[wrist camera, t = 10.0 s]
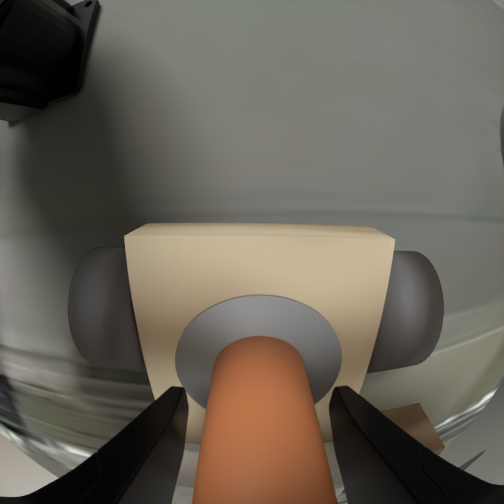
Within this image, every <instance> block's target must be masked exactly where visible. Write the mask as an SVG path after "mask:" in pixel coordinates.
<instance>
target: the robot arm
mask: <svg viewBox="0 0 504 504" xmlns="http://www.w3.org/2000/svg"><path fill="white" fill-rule="evenodd" d="M98 6H99V1H98V0H84V1H82V2H79V3H77V4H75V5H72V6H71V5H70V4H69V3H67V2H66V1H65V0H0V119H1V120H4V121H9V120H11V121H18V120H20V119H22V118H25V117H27V116H30V115H32V114H35V113H38V112H40V111H43V110H44V109H45V108H46V107H47V105H48V104H51V103H54V102H57V101H60V100H63V99H66V98H69V97H73V96H74V95H76V94H77V93H78V92H79V90H80V88H81V84H82V77H83V70H84V64H85V59H86V54H87V49H88V44H89V40H90V35H91V31H92V27H93V23H94V20H95V16H96V12H97V9H98ZM72 84H73V87H72V89H71V90H70V87H71V86H72ZM188 414H189V404H188V399H187V394H186V390H185V388H184V387H178V386H171V387H169V388H168V389H167V390H166V391H165V392H164V393H163V394H162V395H161V396H160V397H158V398H157V399H156V400H155V401H154V402H153V403H152V404H151V405H150V406H149V407H147V408H146V409H145V410H144V411H143V412H142V413H141V414H140V415H138V416H137V417H136V418H135V419H134V420H133V421H132V422H130V423H129V424H128V425H127V426H126V427H125V428H124V429H122V430H121V431H120V432H119V433H118V434H117V435H115V436H114V437H113V438H112V439H111V440H109V441H108V442H107V443H106V444H105V445H104V446H102V447H101V448H100V449H99V450H98V451H97V453H96V452H95V453H94V454H93V455H91V456H90V457H89V458H88V459H86V460H85V461H84V462H82V463H81V464H80V465H78V466H77V467H76V468H74V469H73V470H71V471H70V472H68V473H67V474H65V475H63V476H62V477H60V478H58V479H57V480H55V481H53V482H51V483H50V484H48V485H46V486H44V487H42V488H40V489H39V490H37V491H35V492H33V493H30V494H28V495H25V496H20V497H0V504H171V503H172V499H173V495H174V491H175V487H176V483H177V479H178V475H179V471H180V467H181V463H182V459H183V454H184V448H185V439H186V430H187V422H188ZM329 415H330V422H331V429H332V436H333V444H334V450H335V455H336V459H337V462H338V466H339V470H340V473H341V477H342V481H343V485H344V489H345V492H346V496H347V500H348V504H504V485H496V484H491V483H488V482H486V481H483V480H481V479H479V478H477V477H475V476H473V475H471V474H469V473H467V472H465V471H463V470H462V469H460V468H458V467H456V466H454V465H453V464H451V463H449V462H447V461H446V460H444V459H443V458H441V457H440V456H438V455H437V454H435V453H434V452H433V451H431V450H430V449H429V448H427V447H424V445H423V444H422V443H420V442H419V441H418V440H416V439H415V438H414V437H412V436H411V435H410V434H408V433H407V432H406V431H404V430H403V429H402V428H401V427H399V426H398V425H397V424H395V423H394V422H393V421H392V420H390V419H389V418H388V417H386V416H385V415H384V414H383V413H381V412H380V411H379V410H378V409H376V408H375V407H374V406H373V405H371V404H370V403H369V402H368V401H366V400H365V399H364V398H363V397H361V396H360V395H359V394H358V393H357V392H355V391H354V390H353V389H352V388H350V387H349V386H347V385H344V386H336V387H334V389H333V392H332V395H331V399H330V403H329Z"/></svg>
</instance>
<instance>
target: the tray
mask: <svg viewBox="0 0 504 504" xmlns="http://www.w3.org/2000/svg"><path fill="white" fill-rule="evenodd" d="M324 446H325V450H326V454H327V459H328V463H329V467H330V471H331V476H332V480H333V485H334V489H335V494H336V498H338V497H339V495H340V494H341V492H342V491H343V490H344V485H343V481H342V477H341V473H340V470H339V466H338V462H337V459H336V455H335V450H334V444H333V442H325V443H324ZM199 452H200V444H190V443H185V448H184V454H183V459H182V463H181V467H180V471H179V475H178V479H177V483H176V487H175V491H174V495H173V499H172V500H173V501H174V503H175V504H192V498H193V491H194V484H195V478H196V471H197V465H198V458H199Z"/></svg>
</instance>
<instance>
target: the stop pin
mask: <svg viewBox="0 0 504 504" xmlns="http://www.w3.org/2000/svg"><path fill="white" fill-rule="evenodd" d="M192 504H338V503H337V498H336V494H335V489H334V485H333V480H332V476H331V471H330V467H329V463H328V459H327V454H326V450H325V446H324V442H323V438H322V433H321V429H320V425H319V421H318V417H317V413H316V409H315V405H314V401H313V397H312V393H311V389H310V385H309V381H308V377H307V373H306V370H305V366H304V362H303V359H302V357H301V355H300V353H299V352H298V350H297V349H296V348H295V347H293V346H292V345H291V344H289V343H287V342H286V341H284V340H281V339H278V338H275V337H269V336H251V337H246V338H242V339H239V340H236V341H234V342H232V343H230V344H229V345H227V346H226V347H225V348H224V349H223V350H221V352H220V353H219V354H218V356H217V357H216V360H215V362H214V367H213V373H212V379H211V385H210V390H209V396H208V402H207V408H206V414H205V420H204V427H203V433H202V439H201V445H200V452H199V458H198V465H197V471H196V478H195V484H194V491H193V498H192Z"/></svg>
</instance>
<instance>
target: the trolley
mask: <svg viewBox="0 0 504 504" xmlns="http://www.w3.org/2000/svg"><path fill="white" fill-rule="evenodd" d="M124 241H125V248H95V249H92V250H90V251H89V252H88V253H87V254H86V255H85V256H84V257H83V258H82V259H81V261H80V262H79V264H78V266H77V268H76V270H75V273H74V275H73V278H72V282H71V286H70V291H69V299H68V317H69V325H70V330H71V334H72V338H73V340H74V343H75V345H76V347H77V349H78V351H79V352H80V354H81V355H82V356H83V357H84V359H85V360H87V361H88V362H90V363H92V364H95V365H100V366H106V367H111V368H116V369H122V370H128V371H135V372H142V373H148V377H149V380H150V384H151V388H152V391H153V395H154V398H155V400H156V399H157V398H158V397H160V396H161V395H162V394H163V393H164V392H165V391H166V390H167V389H168V388H169V387H171V386H178V387H184V388H185V390H186V394H187V399H188V404H189V414H188V422H187V430H186V439H185V443H190V444H200V445H201V439H202V433H203V427H204V420H205V414H206V408H207V402H208V396H209V390H210V385H211V379H212V373H213V367H214V362H215V360H216V357H217V356H218V354H219V353H220V352H221V350H223V349H224V348H225V347H226V346H227V345H229V344H230V343H232V342H234V341H236V340H239V339H242V338H246V337H251V336H269V337H275V338H278V339H281V340H284V341H286V342H287V343H289V344H291V345H292V346H293V347H295V348H296V349H297V350H298V352H299V353H300V355H301V357H302V359H303V362H304V366H305V370H306V373H307V377H308V381H309V385H310V389H311V393H312V397H313V401H314V405H315V409H316V413H317V417H318V421H319V425H320V429H321V433H322V438H323V442H324V443H325V442H333V436H332V429H331V422H330V415H329V403H330V399H331V395H332V392H333V389H334V387H336V386H344V385H347V386H349V387H350V388H352V389H353V390H354V391H355V392H357V393H358V394H359V393H360V391H361V388H362V385H363V382H364V378H365V375H366V373H372V372H378V371H385V370H391V369H397V368H402V367H408V366H413V365H417V364H420V363H422V362H423V361H425V360H426V359H427V358H428V357H429V356H430V354H431V353H432V352H433V350H434V348H435V346H436V344H437V342H438V339H439V337H440V333H441V329H442V324H443V315H444V302H443V293H442V288H441V284H440V280H439V277H438V275H437V273H436V270H435V269H434V267H433V265H432V264H431V262H430V261H429V260H428V259H427V258H426V257H425V256H424V255H422V254H421V253H418V252H415V251H394V244H395V239H393V238H391V237H389V236H388V235H386V234H384V233H382V232H380V231H378V230H376V229H374V228H372V227H370V226H346V225H317V224H276V223H147V224H145V225H143V226H141V227H140V228H138V229H136V230H134V231H132V232H130V233H128V234H127V235H125V236H124ZM343 492H345V489H344V490H343V491H342V492H341V493H343Z"/></svg>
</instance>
